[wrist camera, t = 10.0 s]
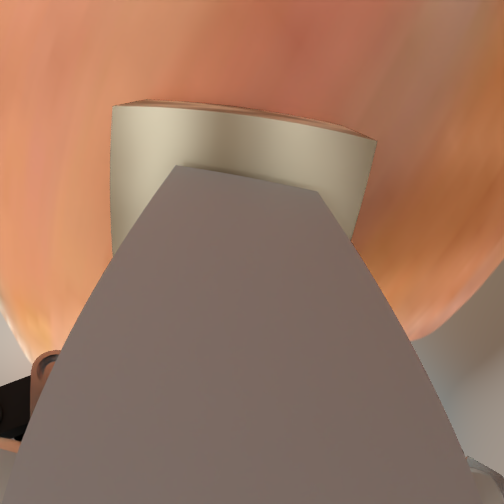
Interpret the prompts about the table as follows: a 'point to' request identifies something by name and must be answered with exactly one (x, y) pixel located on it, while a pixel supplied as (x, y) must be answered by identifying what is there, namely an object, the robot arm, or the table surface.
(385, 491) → the grey block
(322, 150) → the beige metal block
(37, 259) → the table surface
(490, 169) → the table surface
